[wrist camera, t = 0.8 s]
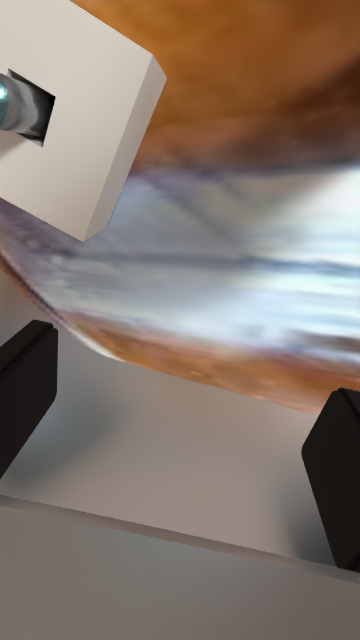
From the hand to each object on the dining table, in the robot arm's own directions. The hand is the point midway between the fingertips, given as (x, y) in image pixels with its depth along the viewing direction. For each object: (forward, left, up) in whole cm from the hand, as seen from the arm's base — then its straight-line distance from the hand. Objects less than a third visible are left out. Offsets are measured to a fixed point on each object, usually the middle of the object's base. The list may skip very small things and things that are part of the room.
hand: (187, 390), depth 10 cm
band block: (-2, -21, -32) cm, 39 cm away
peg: (-2, -21, -26) cm, 34 cm away
